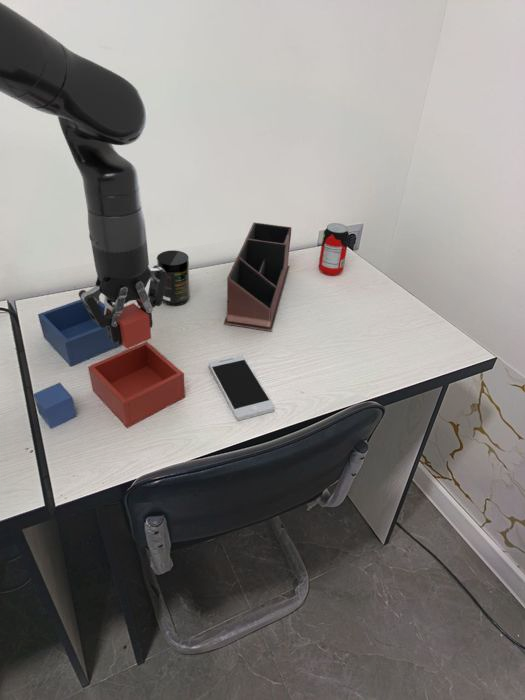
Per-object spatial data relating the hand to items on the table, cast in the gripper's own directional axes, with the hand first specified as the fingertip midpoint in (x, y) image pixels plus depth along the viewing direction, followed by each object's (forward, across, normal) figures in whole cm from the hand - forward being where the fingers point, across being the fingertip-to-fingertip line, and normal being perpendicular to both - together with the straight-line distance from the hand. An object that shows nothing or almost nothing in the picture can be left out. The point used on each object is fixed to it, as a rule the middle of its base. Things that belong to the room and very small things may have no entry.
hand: (131, 335), depth 79 cm
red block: (0, 0, 0) cm, 0 cm away
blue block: (+13, -13, +4) cm, 19 cm away
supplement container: (+13, +23, +22) cm, 35 cm away
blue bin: (+13, 0, +20) cm, 24 cm away
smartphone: (+13, +15, -10) cm, 22 cm away
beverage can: (+14, +62, +9) cm, 64 cm away
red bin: (+13, 0, 0) cm, 13 cm away
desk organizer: (+13, +40, +12) cm, 44 cm away
